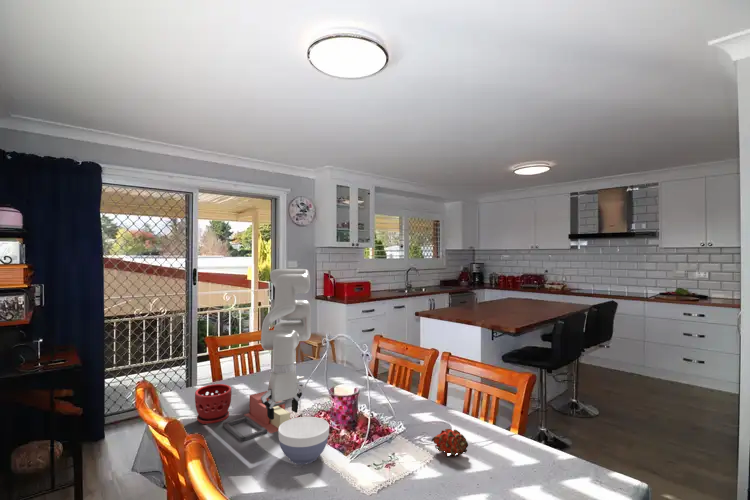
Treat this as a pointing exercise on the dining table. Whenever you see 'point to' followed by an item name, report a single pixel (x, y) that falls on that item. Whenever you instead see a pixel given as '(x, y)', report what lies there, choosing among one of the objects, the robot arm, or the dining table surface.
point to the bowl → (303, 438)
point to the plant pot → (213, 403)
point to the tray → (240, 436)
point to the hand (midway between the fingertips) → (283, 415)
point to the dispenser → (262, 411)
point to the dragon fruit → (451, 442)
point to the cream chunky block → (279, 416)
